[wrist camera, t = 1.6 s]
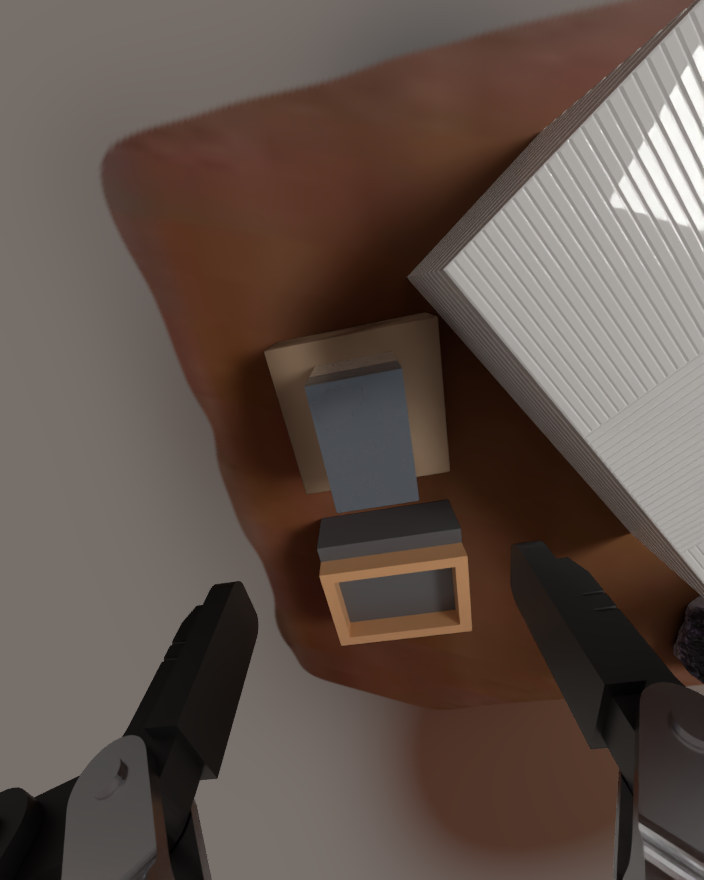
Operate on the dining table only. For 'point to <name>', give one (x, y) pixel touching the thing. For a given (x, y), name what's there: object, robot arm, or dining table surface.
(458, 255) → the long white block
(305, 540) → the dining table surface
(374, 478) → the block
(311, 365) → the walnut stand
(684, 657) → the crystal cluster
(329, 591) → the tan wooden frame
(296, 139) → the dining table surface
